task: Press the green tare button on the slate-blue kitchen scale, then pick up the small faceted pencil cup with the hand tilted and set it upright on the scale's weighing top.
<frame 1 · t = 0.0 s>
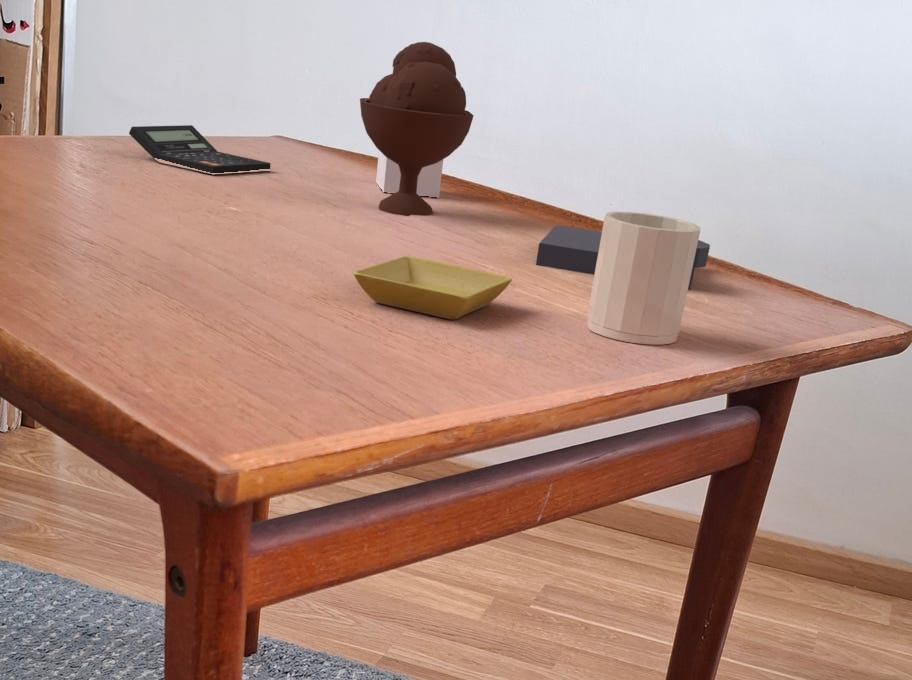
ice cream bowl: (405, 212, 122), on the table
yellow shallow tray: (430, 307, 87), on the table
faceted pencil cup: (631, 332, 87), on the table
scale: (617, 267, 108), on the table
calculator: (199, 165, 133), on the table
tare button: (676, 235, 102), point 4 cm above the table, slide at 0.1 cm
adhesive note: (406, 192, 133), on the table
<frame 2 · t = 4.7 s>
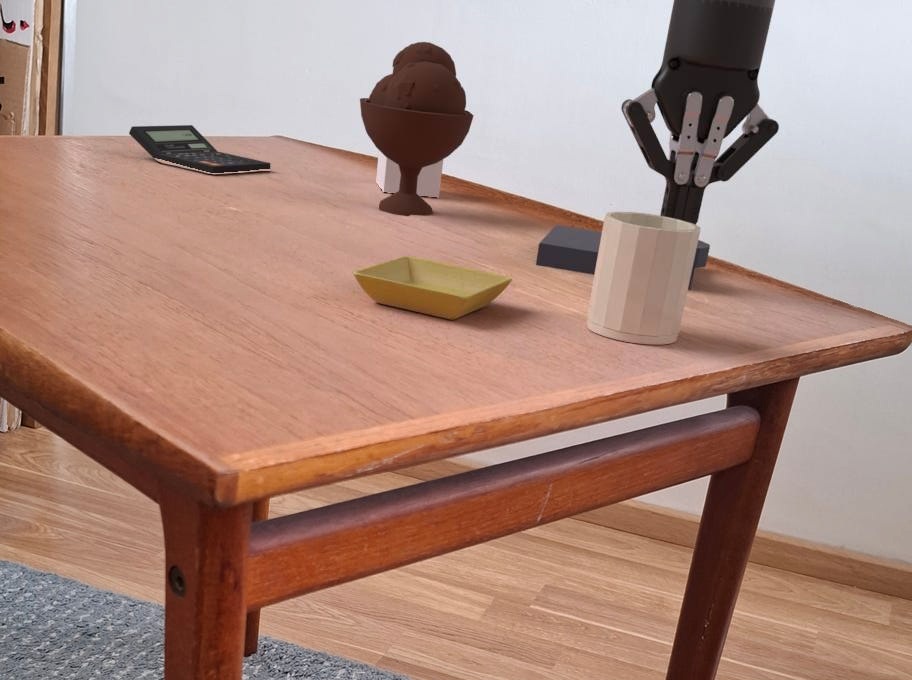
hand: (676, 231, 102), 4 cm above the table, tool pointing down, fingers closed
tare button: (675, 241, 103), point 3 cm above the table, slide at -0.4 cm, touching gripper
everything else where it was.
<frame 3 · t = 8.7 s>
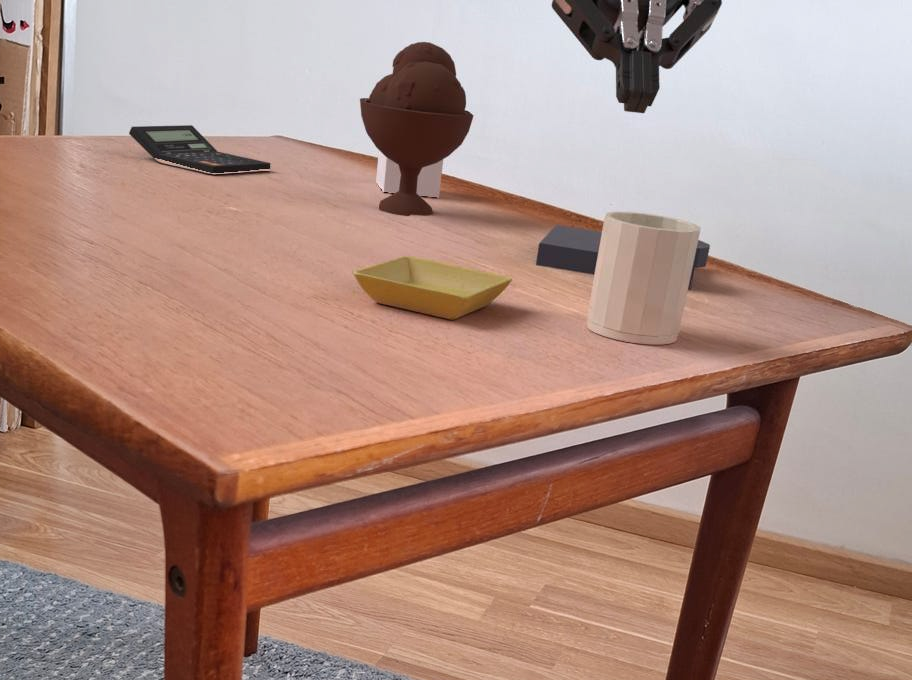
hand: (638, 105, 90), 14 cm above the table, tool tilted 40°, fingers closed
tare button: (676, 235, 102), point 4 cm above the table, slide at 0.1 cm
everything else where it was.
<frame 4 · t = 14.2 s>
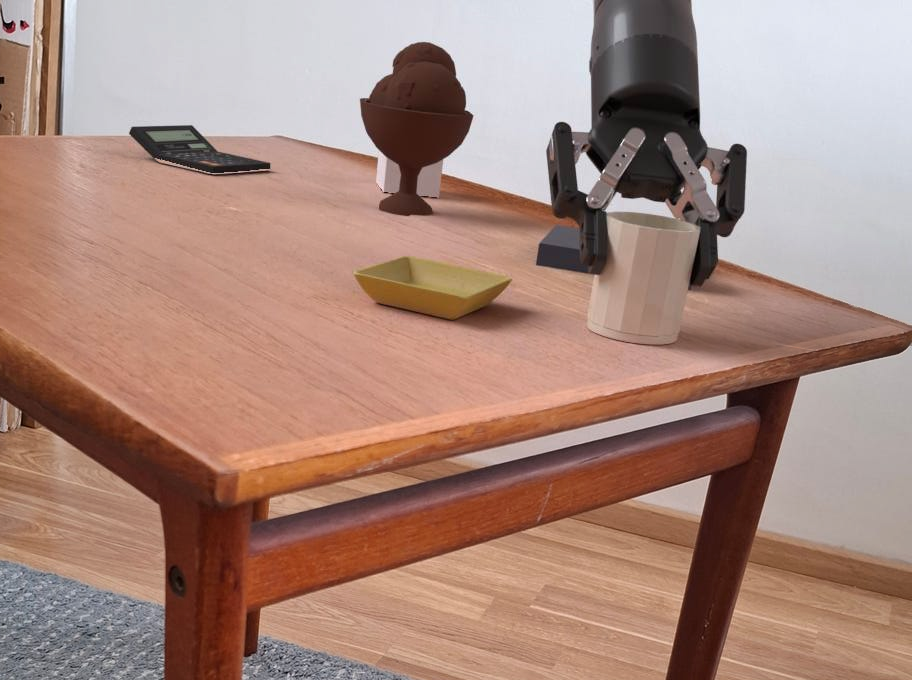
hand: (649, 273, 83), 4 cm above the table, tool tilted 45°, fingers closed on faceted pencil cup, 6 cm apart
faceted pencil cup: (631, 332, 86), on the table, touching gripper
everything else where it was.
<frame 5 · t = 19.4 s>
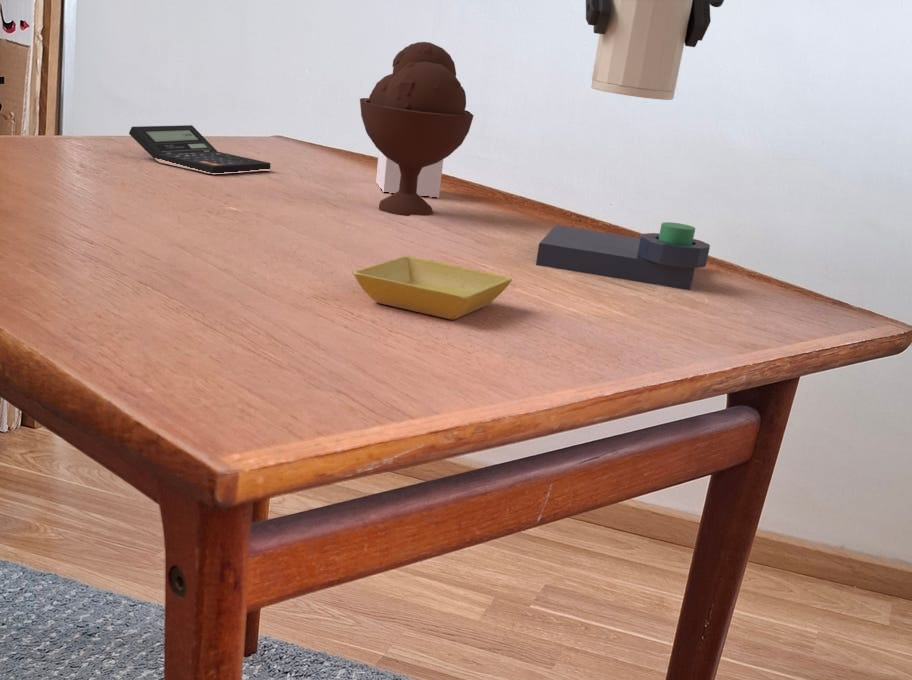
hand: (648, 31, 92), 19 cm above the table, tool tilted 45°, fingers closed on faceted pencil cup, 6 cm apart
faceted pencil cup: (632, 93, 96), point 14 cm above the table, touching gripper
everything else where it was.
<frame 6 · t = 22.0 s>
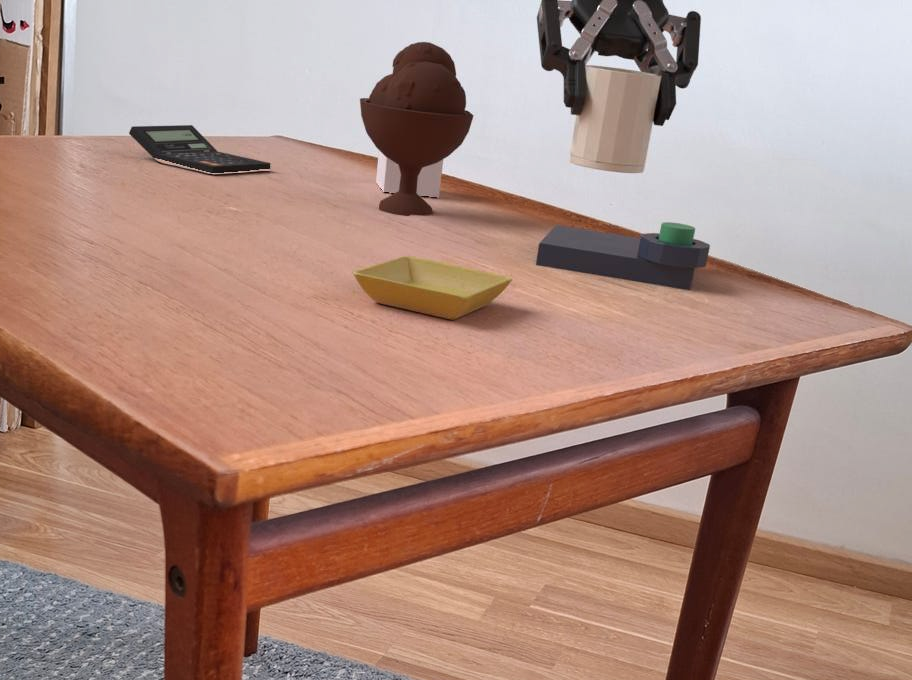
hand: (620, 113, 102), 12 cm above the table, tool tilted 45°, fingers closed on faceted pencil cup, 6 cm apart
faceted pencil cup: (606, 166, 106), point 8 cm above the table, touching gripper
everything else where it was.
when the fingers open (6 cm above the table, at t = 24.5 s): faceted pencil cup stays where it is, resting on scale.
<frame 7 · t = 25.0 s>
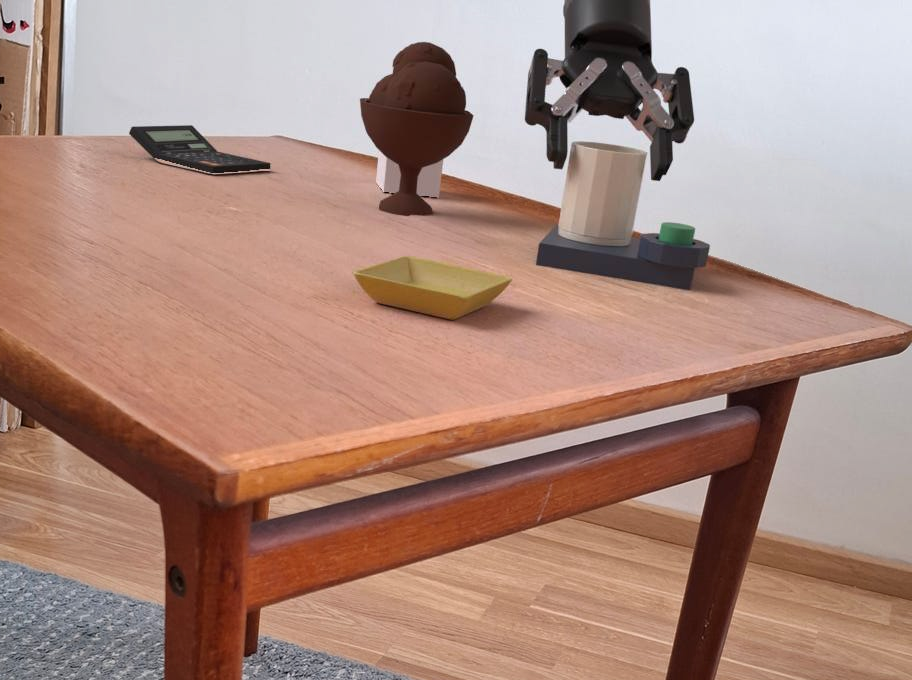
hand: (610, 169, 104), 8 cm above the table, tool tilted 45°, fingers open, 8 cm apart
faceted pencil cup: (593, 238, 108), point 2 cm above the table, touching scale
everything else where it was.
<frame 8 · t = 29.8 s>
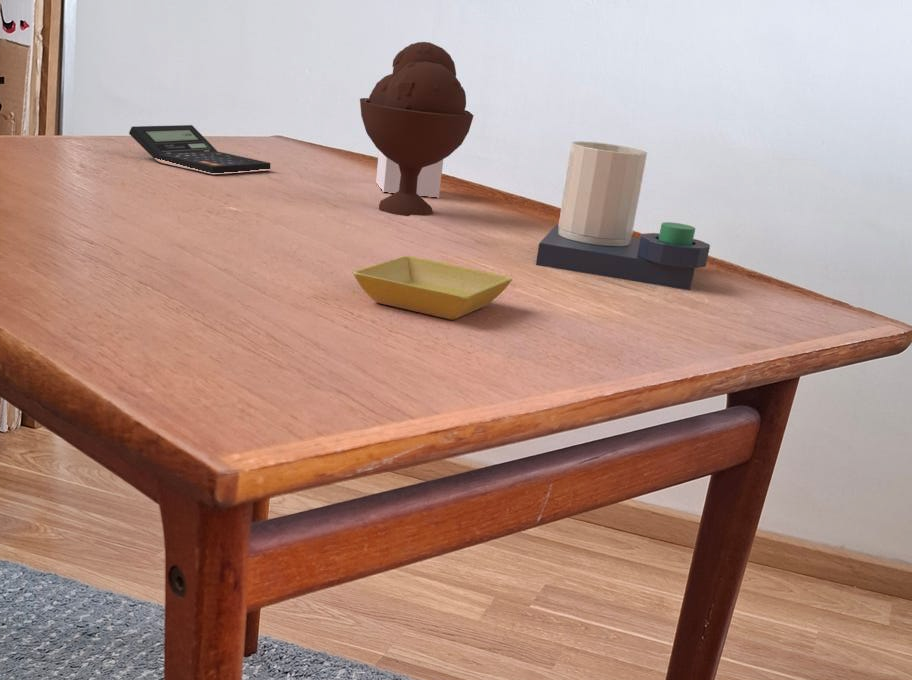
nothing on the table moved.
at the end: tare button pushed in 0.9 cm at the most during the clip, back to where it started at the end; faceted pencil cup inside the target area on the scale (2.7 cm from its centre), point 1.9 cm above the scale's base; faceted pencil cup tilted 0° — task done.
